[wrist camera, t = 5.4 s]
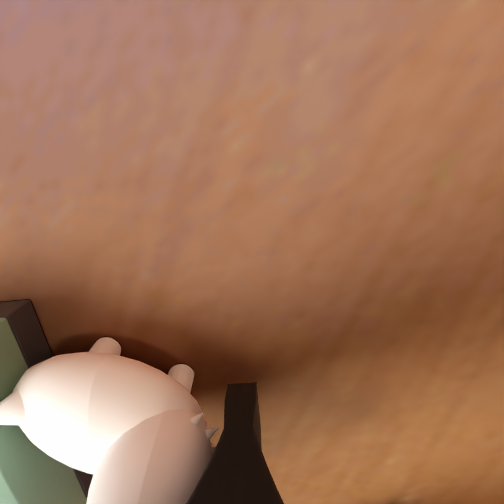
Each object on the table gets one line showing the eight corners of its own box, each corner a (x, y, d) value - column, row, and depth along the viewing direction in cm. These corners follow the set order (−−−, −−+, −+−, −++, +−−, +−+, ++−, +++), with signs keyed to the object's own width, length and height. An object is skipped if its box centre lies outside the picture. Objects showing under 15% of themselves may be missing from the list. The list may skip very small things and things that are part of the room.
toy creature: (210, 438, 14) (181, 647, 9) (39, 382, 13) (-131, 583, 7) (251, 369, 13) (249, 567, 7) (62, 298, 12) (-132, 468, 6)
